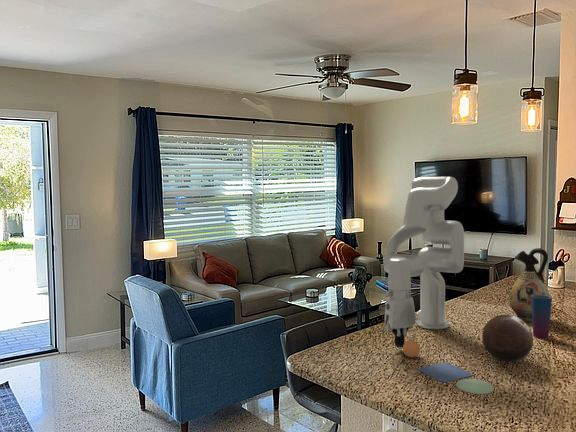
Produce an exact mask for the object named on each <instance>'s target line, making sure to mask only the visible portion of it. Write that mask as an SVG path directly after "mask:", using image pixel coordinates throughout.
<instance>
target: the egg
mask: <svg viewBox="0 0 576 432" xmlns="http://www.w3.org/2000/svg"><path fill="white" fill-rule="evenodd" d="M420 351H421V347H420V344H419V343H418V342H417V341H416V340H413V339H412V340H411V339H410V340H406V341H404V345H403V347H402V352H403V354H404V355H405V356H406V357H408V358H416V357H418V355H419V354H420Z"/></svg>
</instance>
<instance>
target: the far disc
mask: <svg viewBox="0 0 576 432" xmlns="http://www.w3.org/2000/svg"><path fill="white" fill-rule="evenodd" d="M455 386H456V387H457V388H458V389H459V390H460V391H463V392H465V393H469V394H473V395H486V394H490V393H492V392H493V391H494V389H495V388H494V386H493V384H491V383H489V382H487V381H485V380H481V379H478V378H477V379H475V378H462V379H459V380H457V382H456V384H455Z"/></svg>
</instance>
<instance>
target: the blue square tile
mask: <svg viewBox="0 0 576 432" xmlns="http://www.w3.org/2000/svg"><path fill="white" fill-rule="evenodd" d="M416 370H417V371H419V372H421V373H423V374H425V375H427V376H429V377H431V378H433V379H435V380H437V381H439V382H441V383H443V384H445V383H449V382H453V381H459V380H463V379H467V378H470V377H474V376H475V374H474V373H471V372H469V371H467V370H465V369H462V368H461V367H458V366H455V365H454V364H451V363H449V362H447V361H445V362H440V363H436V364H431V365H427V366H423V367H422V366H421V367H418V368H416Z"/></svg>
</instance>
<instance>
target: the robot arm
mask: <svg viewBox="0 0 576 432" xmlns="http://www.w3.org/2000/svg"><path fill="white" fill-rule="evenodd" d="M458 189H459V184H458V181H457V179H456V178H455V177H454V176H453V177H452V176H419V177H416V178H414V179H413V180H412V181H411V189H410V191H409V192H408V194H407V200H406V204H405V210H404V216H403V221H402V225H401V227H400V228H398V229H397V230H396V231H395V232H394V233H393V235H391V236H390V238H389V240H388V241H387V244H386V245H385V250H384V255H383V256H384V257H383V262H382V263H383V269H384V271H385V272H386V273H387V274H388V275H387V276H388V278H387V279H388V281H387V283H388V284H387V285H388V286H387V287H388V290H387V291H386V292H385V295H386V297H387V298H386V301H385V308H384V325H385V331H387V332H389V333H392V334H393V335H394V345H395V347H397V348H403V345H404V343H405V336H406V335H407V332H408V331H409V330H410V329H412V328H414V326H415V325H417V327H419V328H423V329H427V330H443V329H447V328H449V327H450V323H449V321H447V320H446V283H445V279H444V277H443V275H442V274H441V273H448V274H449V273H453V274H458V273H461V272H462V271H463V269H464V264H465V230H464V229H465V228H464V227H463V224H462V223H461V222H460V221H457V220H450V219H449V220H445V210H446V209H447V208H448V207H449V206H450V204H452V201H453V200H454V199H455V197H456V195H457V194H458ZM420 235H421V237H422V240H423V242H425V243H426V244H431V245H433V244H434V245H445V246H449V247H450V248H449V247H436V246H426V247H423V248H420V250H419V252H418V254H417V255H416V254H404V253H397V251H398V248H399V247H400V246H401V244H403V243H405V242H406V241H407V240H409V239H412V238H414V237H416V236H417V237H418V236H420ZM414 277H419V279H420V283H419V284H420V285H419V286H420V287H419V289H420V290H419V292H420V293H419V294H420V299H419V301H420V305H419V306H420V309H419V310H418V311H417V312H416V310H415V309H416V307H415V302H414V298H413V296H411V295H412V286H411V285H412V283H411V281H412V280H411V279H412V278H414ZM416 316H417V317H418V319H417V320H416Z"/></svg>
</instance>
